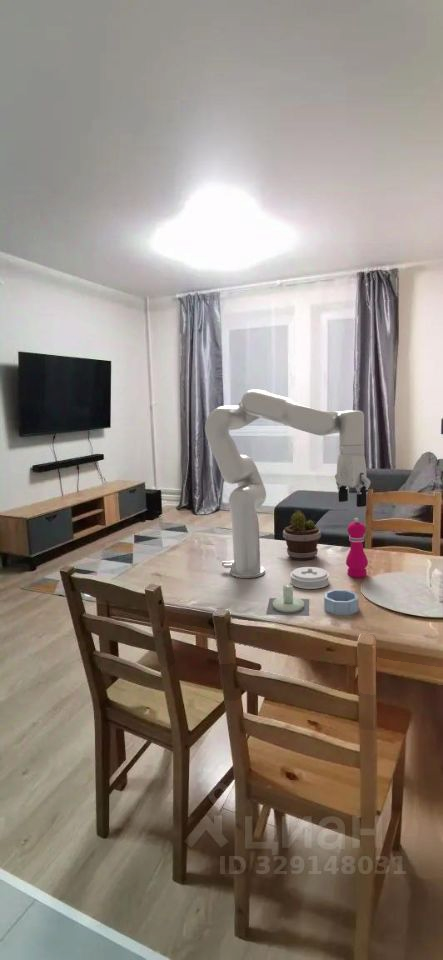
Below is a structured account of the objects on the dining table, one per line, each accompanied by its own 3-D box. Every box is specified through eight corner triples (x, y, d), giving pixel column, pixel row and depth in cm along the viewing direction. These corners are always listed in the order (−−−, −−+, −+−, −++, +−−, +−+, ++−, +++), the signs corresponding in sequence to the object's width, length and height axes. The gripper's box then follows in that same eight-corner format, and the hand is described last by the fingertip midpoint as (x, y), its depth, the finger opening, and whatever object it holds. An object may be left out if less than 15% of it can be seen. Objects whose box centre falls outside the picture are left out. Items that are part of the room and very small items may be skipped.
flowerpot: (293, 549, 201) (292, 502, 198) (328, 554, 192) (327, 504, 189) (275, 559, 189) (274, 508, 186) (312, 564, 180) (311, 511, 177)
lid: (282, 585, 161) (282, 571, 160) (305, 575, 170) (304, 561, 169) (314, 594, 152) (314, 579, 151) (336, 583, 161) (336, 568, 160)
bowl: (324, 615, 136) (324, 601, 135) (324, 602, 145) (323, 589, 144) (359, 616, 134) (359, 602, 134) (356, 603, 143) (356, 590, 143)
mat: (266, 615, 138) (266, 614, 138) (269, 599, 149) (269, 598, 149) (309, 616, 135) (309, 615, 135) (309, 600, 147) (309, 599, 147)
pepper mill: (368, 578, 163) (368, 520, 160) (346, 577, 165) (345, 520, 162) (366, 571, 170) (366, 515, 167) (345, 571, 172) (344, 515, 169)
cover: (271, 612, 139) (271, 591, 138) (274, 600, 148) (273, 580, 147) (303, 613, 137) (303, 592, 136) (304, 600, 146) (303, 581, 145)
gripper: (326, 449, 159) (327, 500, 162) (358, 452, 143) (358, 510, 146) (345, 447, 162) (346, 498, 164) (379, 451, 146) (379, 507, 148)
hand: (352, 503), depth 155 cm, fingers open, 9 cm apart
